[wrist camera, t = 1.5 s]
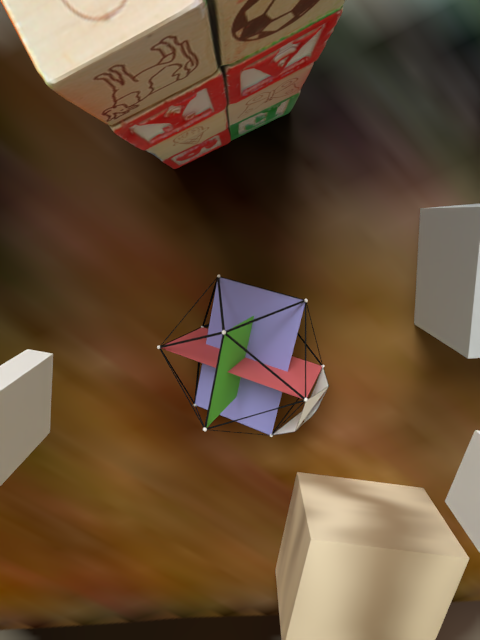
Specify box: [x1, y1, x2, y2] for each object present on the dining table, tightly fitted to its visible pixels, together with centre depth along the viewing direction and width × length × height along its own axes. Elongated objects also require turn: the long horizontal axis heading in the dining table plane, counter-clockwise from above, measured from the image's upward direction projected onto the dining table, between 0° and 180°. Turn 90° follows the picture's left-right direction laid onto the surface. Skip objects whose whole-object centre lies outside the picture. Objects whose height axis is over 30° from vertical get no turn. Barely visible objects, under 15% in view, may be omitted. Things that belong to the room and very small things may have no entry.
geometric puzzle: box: [157, 275, 329, 437], centre depth 17 cm, size 7×7×8 cm
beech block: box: [275, 472, 469, 640], centre depth 21 cm, size 8×8×5 cm
